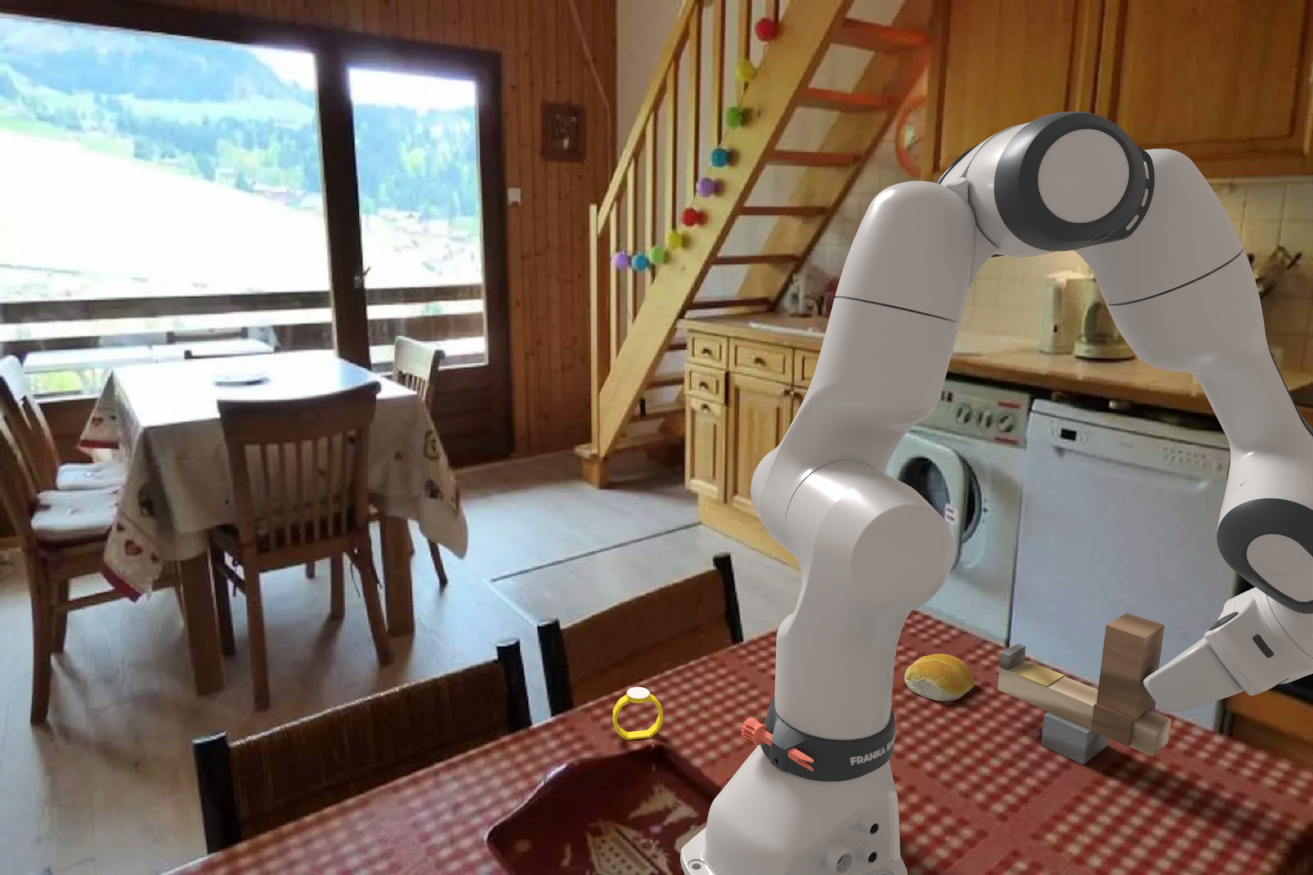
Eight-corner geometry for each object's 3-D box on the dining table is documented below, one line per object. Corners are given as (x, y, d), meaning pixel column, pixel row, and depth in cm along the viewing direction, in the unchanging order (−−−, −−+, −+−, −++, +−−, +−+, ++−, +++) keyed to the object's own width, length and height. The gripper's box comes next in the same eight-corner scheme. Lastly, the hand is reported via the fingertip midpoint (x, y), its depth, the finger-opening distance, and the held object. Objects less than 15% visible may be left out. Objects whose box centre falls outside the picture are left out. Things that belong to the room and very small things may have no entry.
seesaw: (1143, 792, 93) (1154, 717, 91) (990, 721, 106) (996, 655, 104) (1166, 771, 96) (1177, 699, 94) (1016, 705, 110) (1022, 641, 108)
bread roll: (981, 684, 116) (984, 657, 115) (952, 710, 109) (955, 681, 108) (924, 664, 121) (926, 638, 120) (893, 687, 115) (895, 660, 114)
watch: (659, 729, 105) (662, 685, 104) (662, 742, 103) (666, 697, 102) (610, 731, 104) (613, 687, 103) (613, 744, 102) (616, 698, 100)
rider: (1127, 746, 93) (1142, 639, 90) (1090, 730, 96) (1103, 626, 93) (1152, 726, 97) (1167, 623, 94) (1116, 711, 100) (1129, 611, 97)
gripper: (1286, 579, 91) (1174, 632, 100) (1210, 633, 78) (1090, 687, 88) (1330, 633, 88) (1210, 681, 98) (1259, 697, 76) (1130, 745, 86)
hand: (1153, 685), depth 93 cm, fingers closed, pressing on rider
